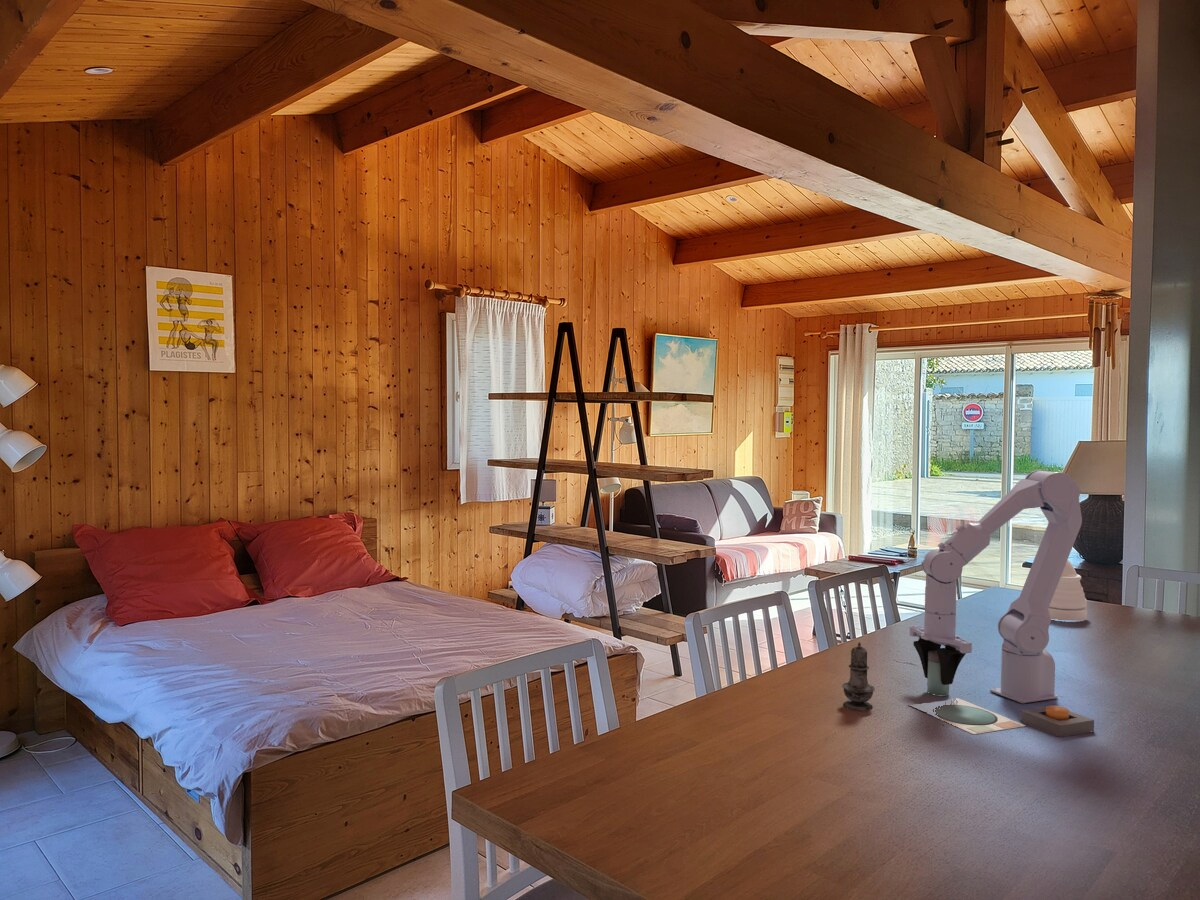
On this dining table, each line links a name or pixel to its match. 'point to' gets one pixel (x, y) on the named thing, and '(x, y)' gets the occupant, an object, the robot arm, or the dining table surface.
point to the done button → (1057, 712)
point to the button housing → (1057, 722)
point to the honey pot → (1068, 597)
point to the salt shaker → (858, 681)
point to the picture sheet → (974, 718)
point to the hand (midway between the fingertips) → (938, 680)
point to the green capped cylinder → (935, 675)
